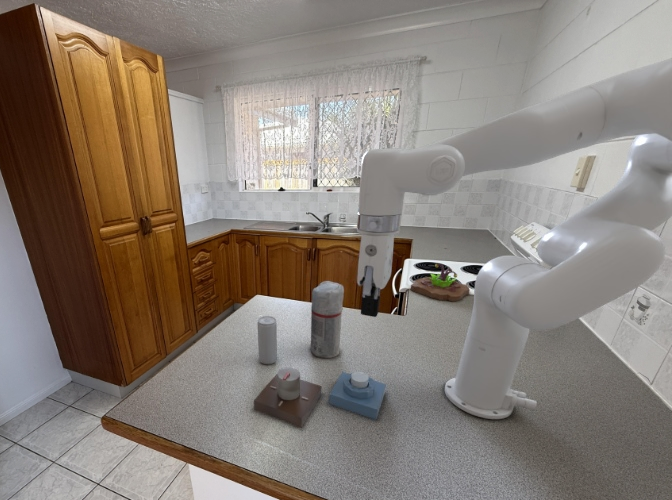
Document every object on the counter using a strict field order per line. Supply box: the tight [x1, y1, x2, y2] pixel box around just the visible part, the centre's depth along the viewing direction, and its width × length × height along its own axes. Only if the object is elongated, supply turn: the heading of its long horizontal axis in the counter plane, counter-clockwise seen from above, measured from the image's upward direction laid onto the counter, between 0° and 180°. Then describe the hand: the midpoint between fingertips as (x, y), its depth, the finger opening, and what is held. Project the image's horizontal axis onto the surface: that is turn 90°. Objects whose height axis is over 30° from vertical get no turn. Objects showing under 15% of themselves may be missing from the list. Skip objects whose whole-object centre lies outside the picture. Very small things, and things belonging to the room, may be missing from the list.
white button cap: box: [351, 371, 369, 389], centre depth 67 cm, size 4×4×2 cm
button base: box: [328, 371, 387, 421], centre depth 68 cm, size 10×9×4 cm
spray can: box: [310, 280, 345, 359], centre depth 83 cm, size 8×8×20 cm
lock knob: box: [276, 366, 301, 400], centre depth 66 cm, size 5×5×5 cm
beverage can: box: [257, 315, 278, 365], centre depth 81 cm, size 5×5×12 cm
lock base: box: [253, 373, 323, 429], centre depth 68 cm, size 11×11×3 cm
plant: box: [410, 263, 471, 302], centre depth 124 cm, size 20×20×11 cm
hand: (369, 314), depth 64 cm, fingers closed
